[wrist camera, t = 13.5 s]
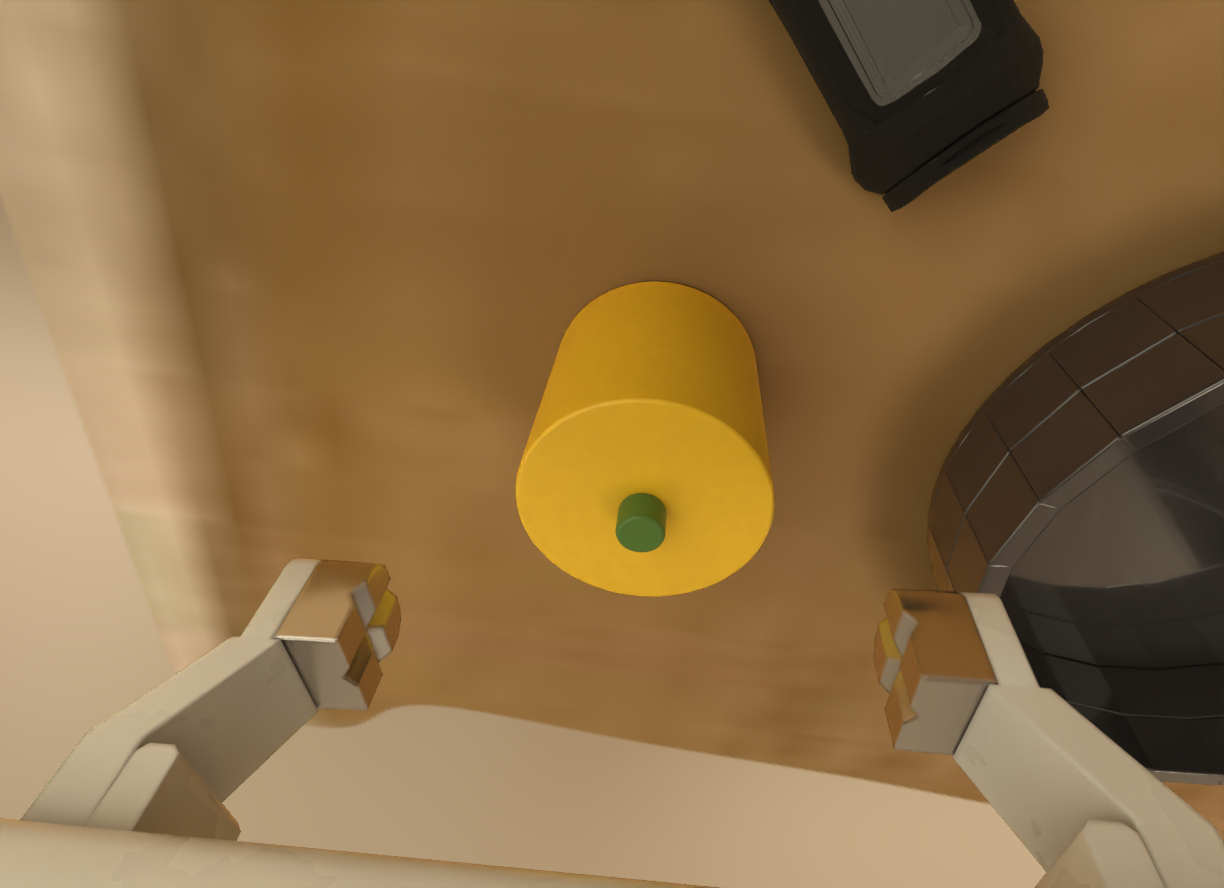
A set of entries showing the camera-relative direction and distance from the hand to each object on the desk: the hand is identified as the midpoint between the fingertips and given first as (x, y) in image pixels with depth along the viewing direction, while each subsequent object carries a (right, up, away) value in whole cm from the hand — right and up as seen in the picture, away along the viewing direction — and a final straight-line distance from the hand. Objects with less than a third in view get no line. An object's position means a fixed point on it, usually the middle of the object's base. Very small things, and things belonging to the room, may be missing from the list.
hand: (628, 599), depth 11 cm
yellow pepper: (+1, +4, +8) cm, 9 cm away
